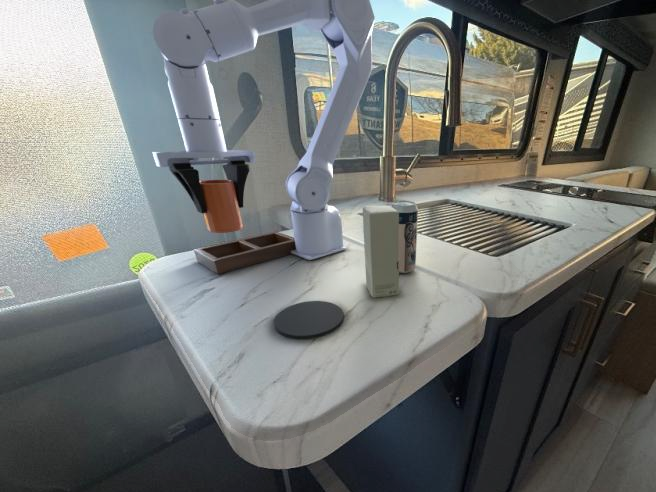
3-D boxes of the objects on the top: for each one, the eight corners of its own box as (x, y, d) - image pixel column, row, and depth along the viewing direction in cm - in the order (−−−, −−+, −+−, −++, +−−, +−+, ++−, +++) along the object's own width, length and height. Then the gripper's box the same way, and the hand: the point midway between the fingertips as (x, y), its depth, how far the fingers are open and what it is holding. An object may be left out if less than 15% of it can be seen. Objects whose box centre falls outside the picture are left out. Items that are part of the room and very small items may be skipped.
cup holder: (197, 261, 60) (193, 249, 58) (278, 242, 71) (276, 231, 70) (218, 274, 55) (214, 261, 53) (301, 250, 66) (299, 239, 65)
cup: (234, 223, 60) (224, 178, 56) (248, 228, 56) (238, 181, 53) (203, 228, 56) (189, 181, 52) (216, 235, 53) (203, 185, 49)
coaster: (316, 297, 47) (316, 295, 47) (357, 318, 42) (357, 315, 42) (260, 321, 41) (260, 318, 41) (301, 348, 36) (300, 345, 36)
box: (399, 295, 49) (401, 211, 43) (371, 299, 47) (369, 213, 41) (390, 282, 53) (390, 204, 47) (364, 285, 52) (361, 205, 46)
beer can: (413, 275, 56) (415, 206, 50) (387, 273, 56) (386, 205, 51) (417, 266, 60) (420, 201, 54) (392, 263, 60) (393, 199, 55)
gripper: (234, 121, 55) (250, 200, 62) (134, 117, 45) (165, 212, 52) (254, 121, 51) (269, 205, 58) (149, 117, 42) (181, 219, 48)
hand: (221, 209), depth 55 cm, fingers closed on cup, 5 cm apart
